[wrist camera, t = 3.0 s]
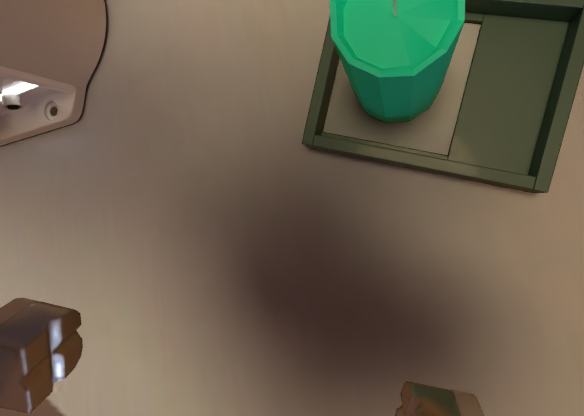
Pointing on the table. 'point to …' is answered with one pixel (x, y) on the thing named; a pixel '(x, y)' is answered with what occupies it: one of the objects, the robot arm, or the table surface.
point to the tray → (489, 98)
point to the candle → (396, 51)
